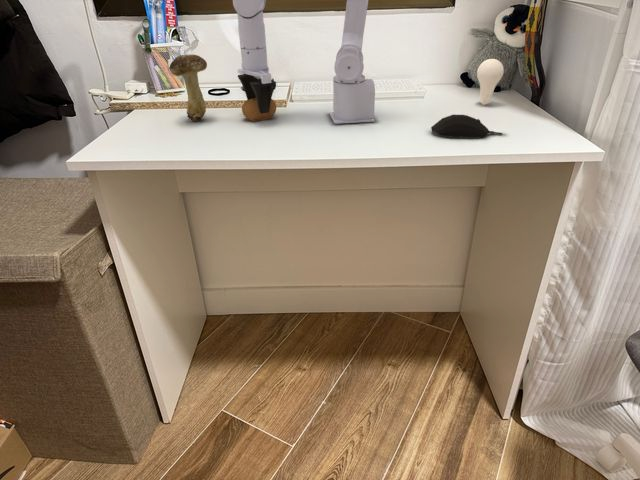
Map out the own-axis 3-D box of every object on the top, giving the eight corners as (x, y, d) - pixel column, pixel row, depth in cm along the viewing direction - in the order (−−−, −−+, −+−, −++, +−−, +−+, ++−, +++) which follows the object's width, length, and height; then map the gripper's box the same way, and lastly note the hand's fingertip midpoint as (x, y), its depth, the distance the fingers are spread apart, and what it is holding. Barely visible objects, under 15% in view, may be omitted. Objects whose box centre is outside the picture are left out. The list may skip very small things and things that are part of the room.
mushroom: (206, 127, 101) (195, 58, 93) (171, 125, 103) (157, 57, 94) (222, 115, 109) (212, 50, 101) (189, 114, 110) (178, 49, 102)
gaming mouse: (505, 139, 91) (509, 120, 88) (432, 138, 92) (434, 119, 90) (498, 129, 96) (502, 111, 94) (429, 128, 97) (431, 110, 95)
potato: (272, 113, 109) (271, 92, 107) (280, 118, 106) (278, 97, 103) (240, 118, 106) (238, 97, 104) (246, 123, 103) (244, 102, 100)
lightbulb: (500, 108, 109) (509, 61, 103) (475, 108, 109) (483, 61, 103) (492, 101, 114) (501, 56, 108) (468, 101, 114) (476, 56, 108)
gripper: (226, 44, 101) (233, 103, 109) (246, 54, 90) (253, 119, 98) (255, 41, 104) (260, 99, 111) (278, 51, 93) (282, 114, 100)
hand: (259, 108), depth 105 cm, fingers open, 7 cm apart
